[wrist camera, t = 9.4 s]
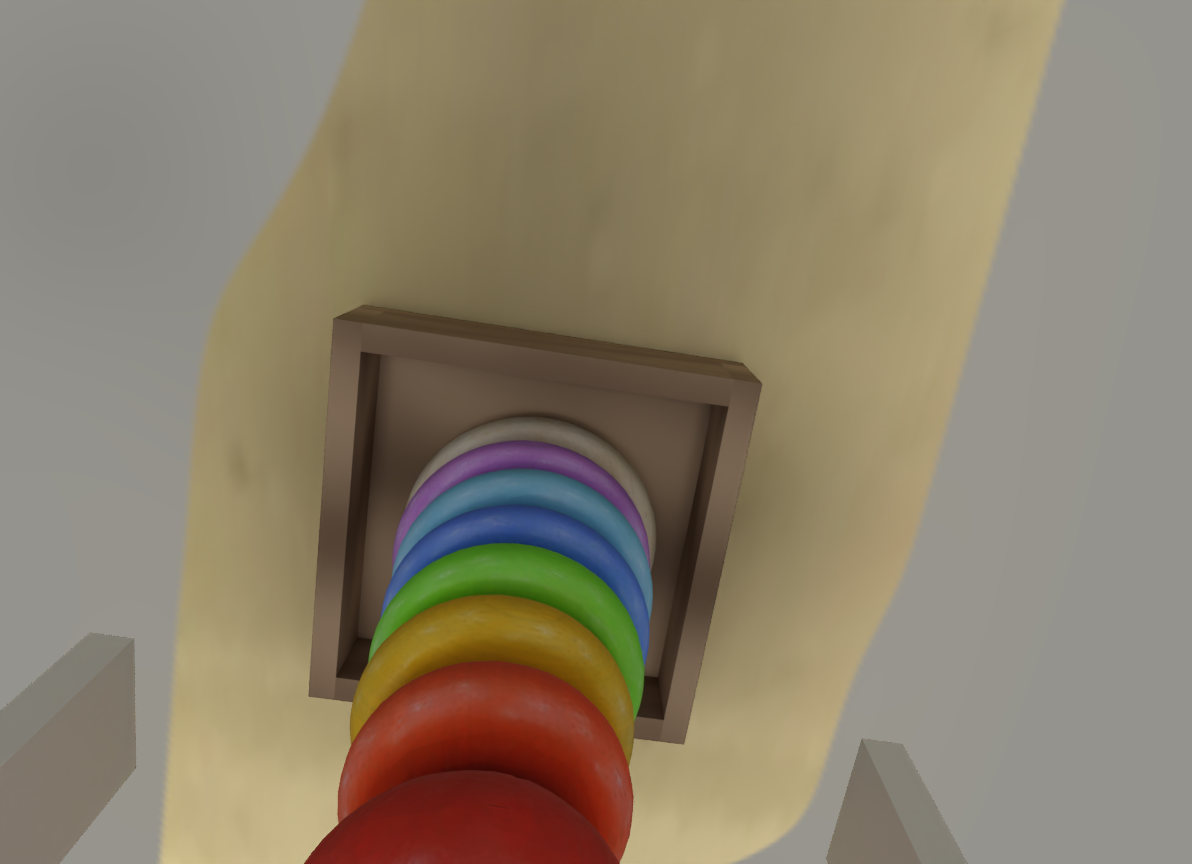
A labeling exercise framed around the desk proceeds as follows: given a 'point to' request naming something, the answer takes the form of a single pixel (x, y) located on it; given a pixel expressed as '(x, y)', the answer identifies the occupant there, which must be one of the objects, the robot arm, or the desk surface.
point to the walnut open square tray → (525, 389)
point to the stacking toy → (504, 659)
